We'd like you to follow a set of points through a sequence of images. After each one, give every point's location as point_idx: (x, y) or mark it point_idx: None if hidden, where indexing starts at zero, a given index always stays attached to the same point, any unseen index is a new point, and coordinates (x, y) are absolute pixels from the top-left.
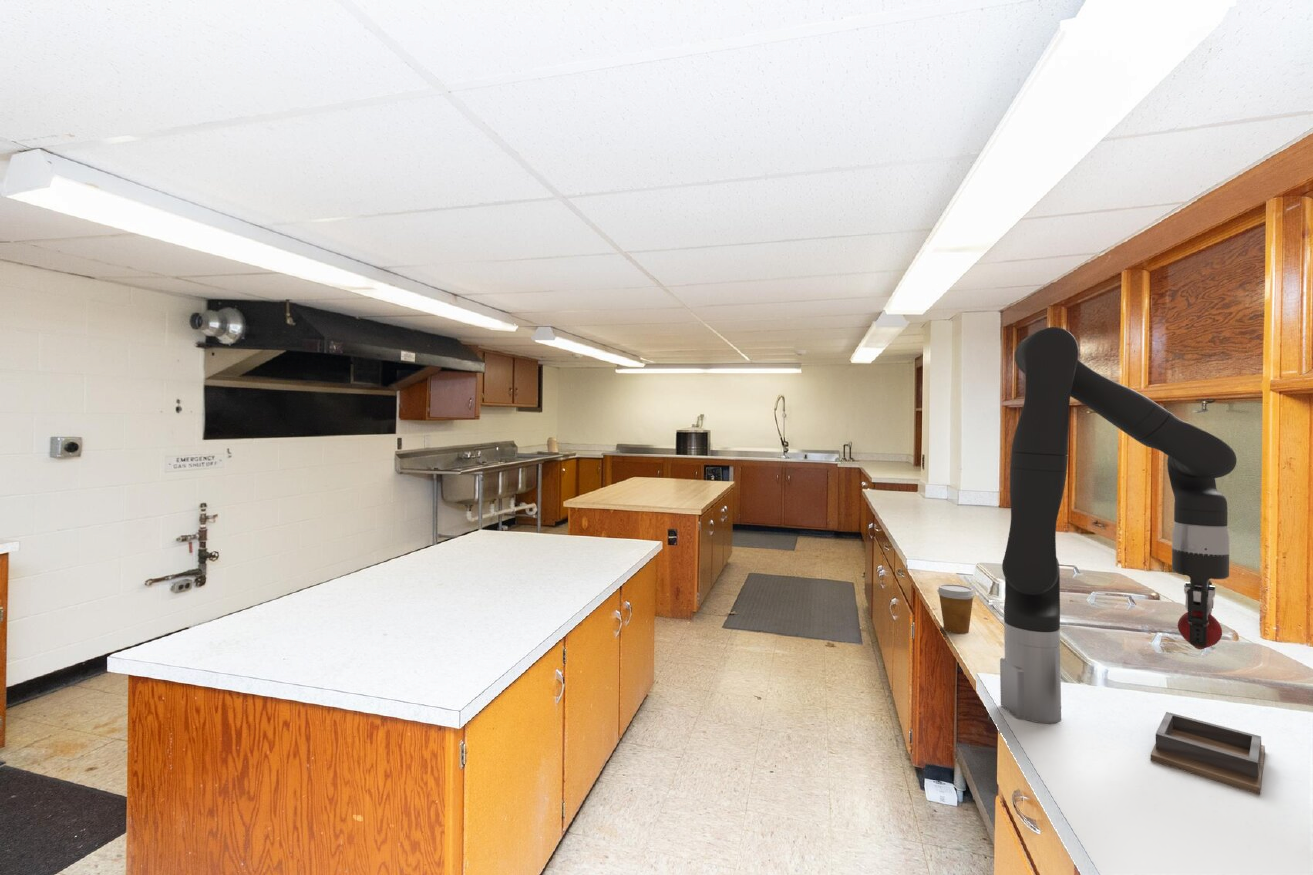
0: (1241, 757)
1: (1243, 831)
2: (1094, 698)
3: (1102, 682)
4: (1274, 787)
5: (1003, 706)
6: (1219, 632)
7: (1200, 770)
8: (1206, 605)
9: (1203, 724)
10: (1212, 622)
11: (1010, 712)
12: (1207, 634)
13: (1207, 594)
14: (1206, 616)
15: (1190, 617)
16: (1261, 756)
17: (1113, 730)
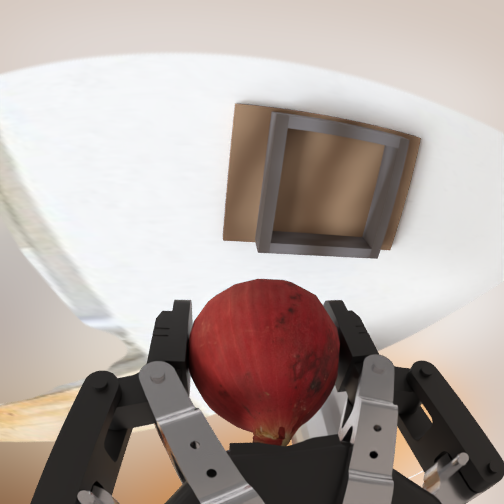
0: (402, 158)
1: (491, 171)
2: None
3: (96, 320)
4: (382, 113)
5: None
6: (307, 305)
7: (405, 198)
8: (479, 427)
9: (276, 198)
10: (324, 357)
11: None
12: (336, 328)
13: (500, 468)
14: (451, 389)
15: (420, 408)
16: (298, 114)
17: (308, 290)
